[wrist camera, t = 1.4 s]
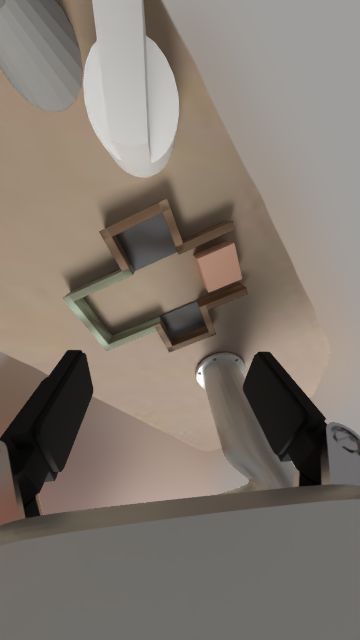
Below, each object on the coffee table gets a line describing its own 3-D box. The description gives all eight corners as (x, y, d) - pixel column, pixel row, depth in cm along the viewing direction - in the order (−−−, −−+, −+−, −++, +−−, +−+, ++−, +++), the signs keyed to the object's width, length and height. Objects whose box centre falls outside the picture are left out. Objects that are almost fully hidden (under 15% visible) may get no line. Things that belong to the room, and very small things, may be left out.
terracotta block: (233, 272, 33) (242, 278, 29) (203, 285, 33) (208, 292, 30) (225, 240, 30) (234, 243, 26) (193, 254, 30) (197, 259, 27)
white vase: (174, 179, 25) (184, 150, 14) (108, 175, 24) (69, 141, 13) (175, 81, 20) (191, -62, 10) (94, 72, 19) (20, -98, 9)
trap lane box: (246, 312, 37) (253, 319, 35) (125, 360, 40) (122, 370, 38) (215, 176, 25) (222, 171, 22) (45, 259, 28) (33, 263, 25)
